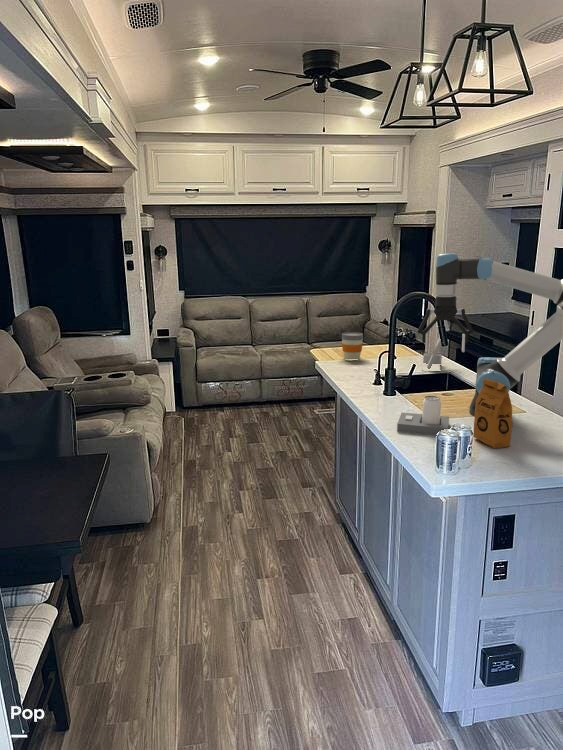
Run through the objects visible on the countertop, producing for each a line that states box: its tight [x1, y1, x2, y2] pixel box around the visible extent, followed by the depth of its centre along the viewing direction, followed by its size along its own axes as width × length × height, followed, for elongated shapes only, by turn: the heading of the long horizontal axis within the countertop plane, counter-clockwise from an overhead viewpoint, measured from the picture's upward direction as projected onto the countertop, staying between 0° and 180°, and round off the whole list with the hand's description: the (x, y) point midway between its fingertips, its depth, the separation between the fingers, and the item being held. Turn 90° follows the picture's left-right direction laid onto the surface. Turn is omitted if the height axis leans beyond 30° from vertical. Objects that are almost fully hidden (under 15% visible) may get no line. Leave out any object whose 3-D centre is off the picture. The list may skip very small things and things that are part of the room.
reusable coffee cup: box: [341, 331, 364, 360], centre depth 324 cm, size 13×13×15 cm
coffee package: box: [472, 379, 513, 449], centre depth 192 cm, size 10×12×22 cm
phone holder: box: [422, 335, 443, 369], centre depth 300 cm, size 17×10×18 cm, turn 164°
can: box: [421, 395, 442, 425], centre depth 208 cm, size 6×6×12 cm
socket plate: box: [396, 412, 450, 436], centre depth 210 cm, size 18×14×4 cm
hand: (444, 351), depth 213 cm, fingers open, 13 cm apart
